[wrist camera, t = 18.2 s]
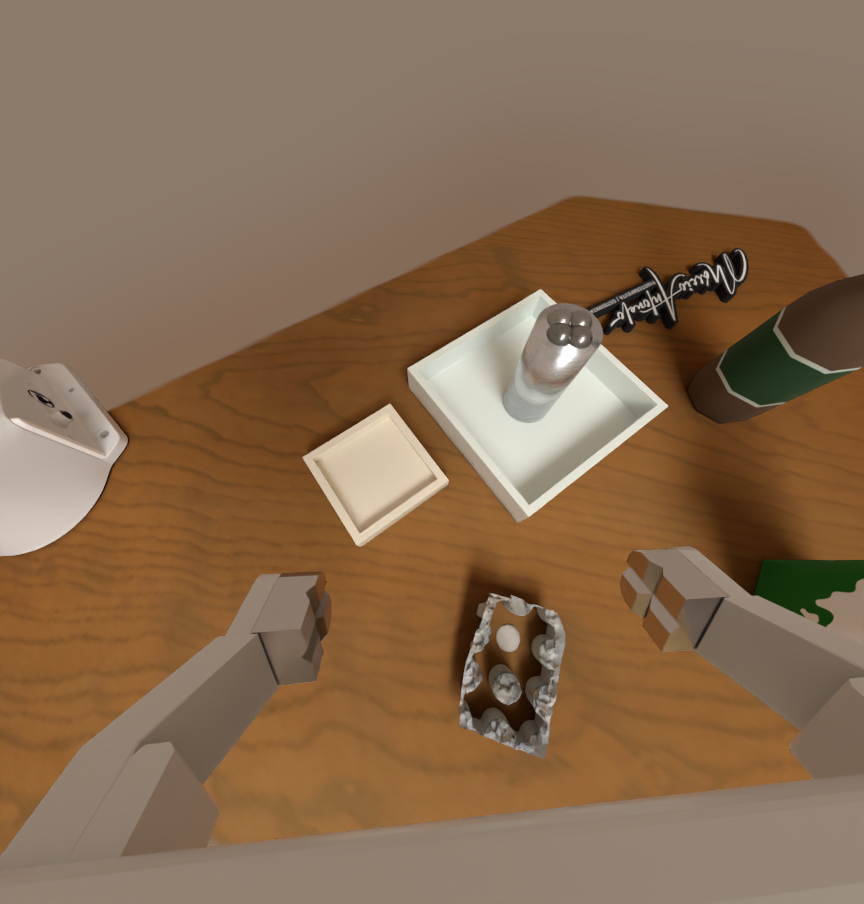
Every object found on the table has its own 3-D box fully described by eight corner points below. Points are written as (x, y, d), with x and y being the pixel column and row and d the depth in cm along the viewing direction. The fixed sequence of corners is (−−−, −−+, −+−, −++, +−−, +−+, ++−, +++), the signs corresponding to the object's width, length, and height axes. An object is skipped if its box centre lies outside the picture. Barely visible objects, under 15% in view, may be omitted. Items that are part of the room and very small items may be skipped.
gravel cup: (493, 397, 37) (525, 314, 25) (527, 374, 38) (573, 284, 26) (524, 431, 36) (574, 361, 24) (559, 406, 37) (623, 327, 25)
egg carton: (481, 584, 31) (488, 586, 27) (555, 611, 31) (574, 617, 27) (448, 709, 28) (451, 731, 24) (532, 743, 27) (549, 772, 23)
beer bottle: (671, 387, 39) (1004, 142, 16) (714, 361, 41) (1074, 102, 18) (720, 437, 37) (1183, 232, 14) (763, 407, 38) (1246, 178, 16)
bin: (409, 387, 38) (407, 368, 35) (530, 313, 43) (540, 289, 39) (517, 522, 33) (528, 517, 29) (644, 422, 37) (668, 406, 34)
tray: (309, 463, 35) (302, 457, 33) (391, 411, 37) (389, 403, 35) (361, 546, 32) (356, 545, 30) (447, 485, 34) (448, 480, 32)
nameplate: (719, 231, 47) (773, 275, 44) (711, 241, 49) (762, 284, 46) (574, 298, 42) (624, 352, 39) (570, 307, 44) (617, 359, 41)
